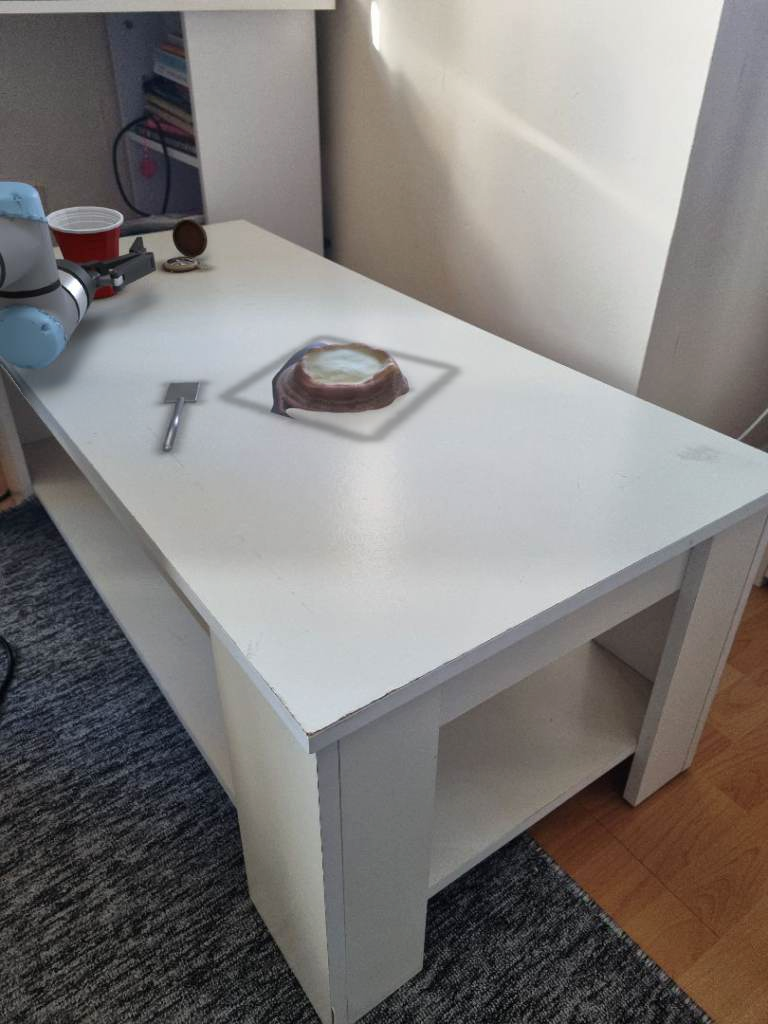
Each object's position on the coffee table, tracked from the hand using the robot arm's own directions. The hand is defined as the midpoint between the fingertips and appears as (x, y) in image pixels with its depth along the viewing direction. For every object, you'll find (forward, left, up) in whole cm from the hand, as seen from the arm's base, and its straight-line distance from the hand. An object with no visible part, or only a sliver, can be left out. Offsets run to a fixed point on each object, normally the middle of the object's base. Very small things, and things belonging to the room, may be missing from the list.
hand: (95, 246), depth 121 cm
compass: (+12, +10, -7) cm, 17 cm away
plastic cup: (0, -2, -7) cm, 7 cm away
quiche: (+36, -36, -7) cm, 51 cm away
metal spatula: (+17, -43, -7) cm, 46 cm away
